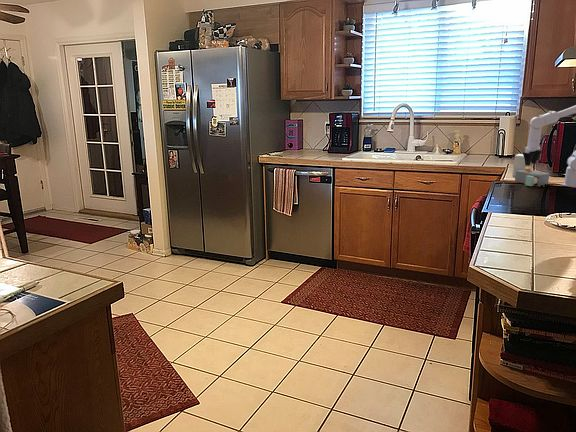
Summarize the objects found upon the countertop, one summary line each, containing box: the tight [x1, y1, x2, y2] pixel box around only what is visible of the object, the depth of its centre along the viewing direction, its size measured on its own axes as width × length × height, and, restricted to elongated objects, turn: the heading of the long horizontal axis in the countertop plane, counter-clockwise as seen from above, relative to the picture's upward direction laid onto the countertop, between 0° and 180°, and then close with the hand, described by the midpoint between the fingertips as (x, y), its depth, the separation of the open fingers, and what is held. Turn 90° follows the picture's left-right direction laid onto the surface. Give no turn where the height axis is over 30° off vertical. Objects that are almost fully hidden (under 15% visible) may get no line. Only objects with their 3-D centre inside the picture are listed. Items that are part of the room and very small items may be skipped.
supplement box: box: [512, 153, 532, 178], centre depth 279 cm, size 7×7×13 cm
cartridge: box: [524, 175, 539, 187], centre depth 259 cm, size 12×4×5 cm, turn 122°
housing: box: [514, 169, 550, 187], centre depth 264 cm, size 9×14×6 cm, turn 32°
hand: (530, 164), depth 261 cm, fingers open, 7 cm apart
